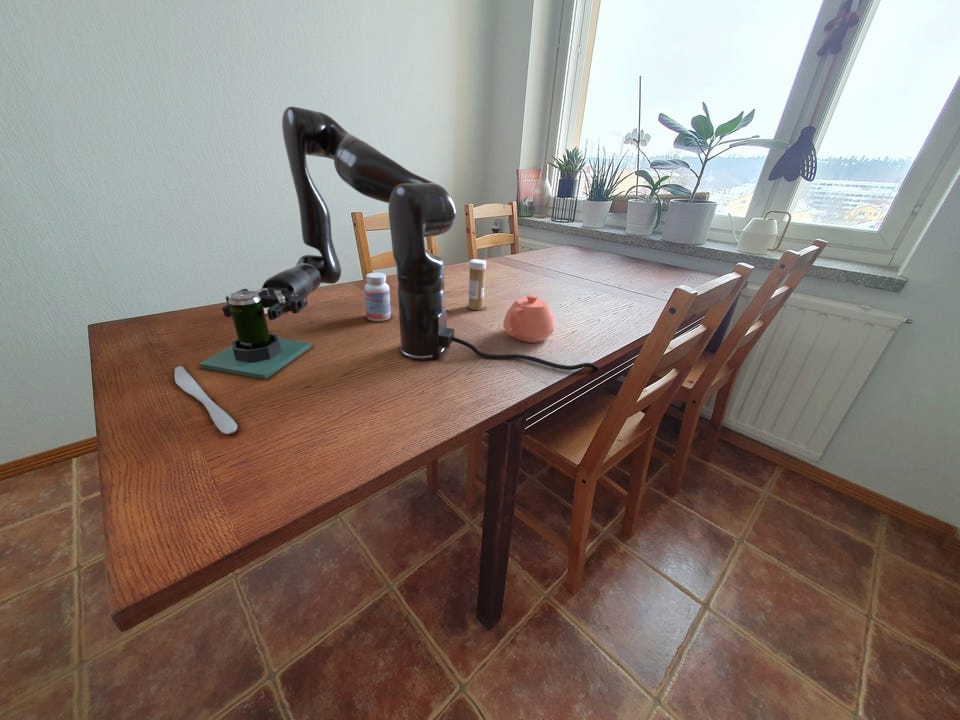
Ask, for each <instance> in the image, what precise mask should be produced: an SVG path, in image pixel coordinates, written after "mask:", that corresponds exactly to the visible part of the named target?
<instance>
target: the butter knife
mask: <svg viewBox="0 0 960 720" xmlns="http://www.w3.org/2000/svg"><path fill="white" fill-rule="evenodd" d="M174 382H175V383H176V385H177V386H178V387H180V389H182V390H183V391H184V392H186V393H187V394H188V395H191V396H193V398H195V399H196V400H198V401H199V402H200V403H202V405H203V406H204V408H205V409H206V410H207V412H208V413H209V416H210V418H211V420H212V422H213V423H214V425H215V426H216V427H217V429H218V430H219V431H220V432H221V434H224V435H231V434H234V433H235V432H237V430H238V424H237V422H236V421H235V420H234V419H233V418H232V417H231V416H230V415H229V414H228V413H227V412H226V411H225V410H224V409H223V408H221V407H220V406H218V405H217V404H216V402H214V401H213V399H211V398H210V397H209V396H208V395H207V393H205V391H204V390H203V389H202V387H201V386H200V384H198V383H197V381H196V380H195V379H194V378H193V377H192V375H190V373H189V372H188V371H187V370H186V369H185V368H184V367H183V366H182V365H180V366H176V367H175V368H174Z"/></svg>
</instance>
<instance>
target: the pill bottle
mask: <svg viewBox="0 0 960 720" xmlns="http://www.w3.org/2000/svg"><path fill="white" fill-rule="evenodd" d="M365 278H366V282H367V283H366V284H365V285H364V286H363V287H364V289H363V291H364V300H365V313H366V318H367V320H369V321H371V322H385V321H388V320H389V319H390V318H391V317H392V311H391V293H390V291H391V290H390V285H389V284H388V283H387V275H386V273H383V272H369V273H367V274H366V275H365Z"/></svg>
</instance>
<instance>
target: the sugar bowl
mask: <svg viewBox="0 0 960 720" xmlns="http://www.w3.org/2000/svg"><path fill="white" fill-rule="evenodd" d="M502 325H503V329H504V331H506V334H507V335H508V336H509V337H512V338H514V339H516V340H518V341H522V342H525V343H527V344H533V343H534V342H541V341H544V340H546V339H547V338H549V337H550V336H551V335H552V334H553V333H554V330H555V319H554V315H553V313H552V310H551V307H550V306H549V303H547V302H546V301H545V300H543V299H541V298H538V296H537V295H536V294H527V295H526V296H523V297H519V298H517V299H516V300H515V301H514V302H513V303H512V304H511V306H510V307H509V308H508V310H507V311H506V313H505V316H504V319H503V324H502Z"/></svg>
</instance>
